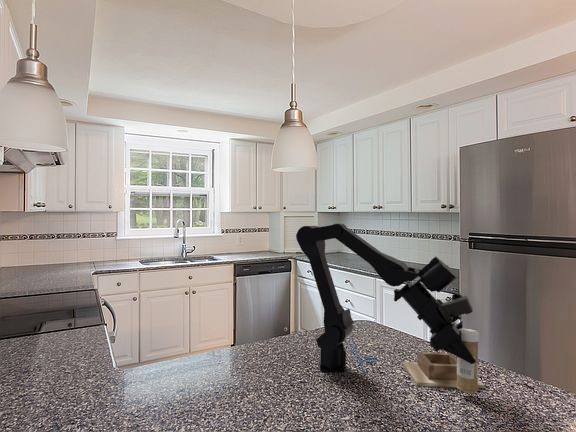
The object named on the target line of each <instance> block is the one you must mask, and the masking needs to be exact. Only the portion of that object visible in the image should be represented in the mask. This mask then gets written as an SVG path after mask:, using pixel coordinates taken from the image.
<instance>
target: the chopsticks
mask: <svg viewBox="0 0 576 432" xmlns="http://www.w3.org/2000/svg"><path fill="white" fill-rule="evenodd" d="M350 343H351V345H352V348H353V349H354V352H355V355H356V356H357V359H358V361H359V364H360V367H361V368H362V370H363V373H364V374H366V371H365V369H364V366H363V364H362V361H361V357H359V355H358V352H357V351H356V348H355V346H354V344H353V342H352V340H351V339H350ZM374 360H375V361H376V360H378V358H377V357H365V361H374Z"/></svg>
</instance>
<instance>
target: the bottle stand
mask: <svg viewBox="0 0 576 432" xmlns="http://www.w3.org/2000/svg"><path fill="white" fill-rule="evenodd" d="M402 366H403V367H404V369H405V371H406V372H407V373H408V375H409V377H410V378H411V379H412V381H413V382H414V383H415V385H416V386H417V387H435V388H436V387H437V388H438V387H439V388H440V387H441V388H457V387H456V384H457V356H455V355H453V354H451V353H449V352H427V351H426V352H423V351H418V352H417V362H415V361H402ZM478 389H485V384H484V383H483V382H482V381H481V380H480V379H478Z"/></svg>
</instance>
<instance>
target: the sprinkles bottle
mask: <svg viewBox="0 0 576 432" xmlns="http://www.w3.org/2000/svg"><path fill="white" fill-rule="evenodd" d="M460 330H461V331H462V336H461V339H462V341H463V343H464V344H465V345H466V347H467V348H468V350H469V351H470V353H471V354H472V356H473V357H474V359H475V360H476V362H475V363H474V364H471V363H469V362H467V361H465V360H463V359H461V358H459V357H457V356H456V358H457V384H456V387H455V388H457V389H458V390H459V391H461V392H463V393H467V394H476V393H478V392H479V388H478V380H479V379H478V378H479V341H480V333H479V331H477V330H473V329H470V328H462V329H458V331H460Z"/></svg>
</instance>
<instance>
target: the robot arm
mask: <svg viewBox="0 0 576 432" xmlns="http://www.w3.org/2000/svg"><path fill="white" fill-rule="evenodd" d="M295 237H296V241H297V244H298V246H299V247H300V250H301V251H302V252H303V254H304V255H305V257H307V259H308V261H309V265H310V267H311V271H312V274H313V278H314V280H315V284H316V287H317V290H318V291H317V292H318V294H319V297H320V300H321V304H322V307H323V328H324V332H323V333H322V334H320V335H319V337H317V338H316V339H315V340H316V344H317V347H318V348H319V360H318V364H319V371H320V372H337V373H341V372H342V373H343V372H344V373H345V372H346V371H345V368H346V367H347V351H346V349H345V346H344V343H345V342H346V339H347V338H348V337H349V336H350V335H351V334H352V332H353V331H354V326H353V324H355V321H354V320H353V318H352V313H351V309H350V308H347V309H344V307H343V306H342V304H341V303H340V299H339V296H338V293H337V290H336V286H335V283H334V280H333V277H332V274H331V271H330V266H329V264H328V260H327V258H326V252H325V251H326V241H327V240H333V239H336V240H337V241H338V242H340V243H341V244H343V245H344V246H345V247H346V248H348V249H349V250H350V251H352V252H353V253H354V254H355V255H357V256H359V257H360V258H361V259H363V260H364V261H365V262H367V263H368V265H370V266H371V267H372V268H373V270H374V271H375V273H376V274H377V275H378V276H379V277H380V278H381V279H382V280H383V282H385V283H386V284H387V285H388V286H390V287H400V286H402V285H403V284H404V283H406V282H407V283H406V284H405V285H403V286H402V287H401V288H395V289H394V290H393V295H394V297H393V301H394V302H397V301H399V300H400V299H401V298H402V299H403V300H404V301H405V303H407V304H408V305H409V307H411V309H412V310H413V311H414V313H416V314H417V316H416V318H417V319H418V320H419V321H423V322H424V324H425V325H426V326H427V327H428V328H429V329H430V330H429V333H430V334H431V336H430V338H429V346H431V348H432V349H433V350H434V351H435V353H438V352H439V351H440V350H443V351H444V352H446V353H451V354H453V355H454V356H455V357H456V358H457V357H459V358H461V359H463V360H465V361H467V362H469V363H471V364H474V363H475V362H476V360H475V359H474V357H473V356H472V354H471V353H470V351H469V350H468V348H467V347H466V345H465V344H464V343H463V341H462V339H461V336H462V331H461V330H460V331H458V329H464V328H463V324H464V322H463V320H462V318H463V316H462V315H469V314H471V313H473V310H474V309H473V306H472V304H471V301H470V299H469V298H468V295H462V294H461V293H460V292H456V293H453V294H452V296H451V299H449V300H448V301H445V302H443V301H442V300H441V299H438V298H436V297H435V296H433V295H432V293H433V292H437V293H441V292H442V291H443V290H445V288H447V287H448V286H449V285H451V284H452V283H453V282H454V281H455V280H457V279H458V276H457V274H456V273H455V271H454V270H453V269H452V268H451V267H450V266H449V265H448V264H446V263H444V261H443V260H441V259H439V257H437V256H434V257H433V258H432V259H431V260H430V261H429V262H428V263H427V264H426V265H425V266H423V267H422V268H421V269H420V268H416V267H410V266H408V265H407V263H405V262H403V261H402V260H400V259H398V258H395V257H393V256H391V255H388V254H386V253H383V252H381V251H380V250H379V249H378V248H376V247H374V246H373V245H372V244H370V243H369V242H368V241H366V240H365V239H364V238H362V237H361V236H360V235H358V234H356V233H355V232H354V231H352V230H351V229H349V228H348V227H347V225H345V224H344V223H339V222H338V223H337V222H336V223H333V224H329V225H325V226H317V225H303V226H300V228H299V229H298V230H297V233H296V235H295ZM417 278H419V279H418V280H417V281H416V282H415V283H413V284H412V283H410V282H414V281H415V280H416V279H417ZM457 320H459V321H460V322H459V323H457V322H456V321H457ZM461 320H462V321H461Z"/></svg>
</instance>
